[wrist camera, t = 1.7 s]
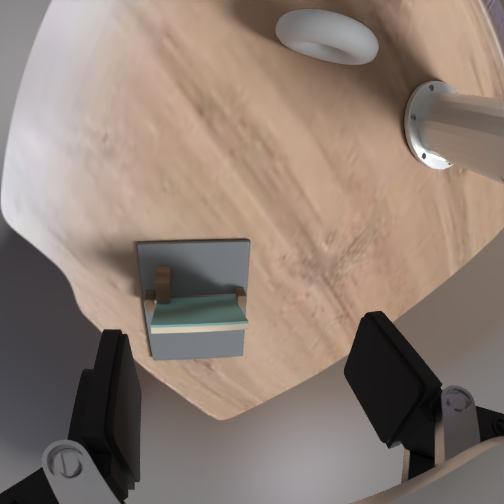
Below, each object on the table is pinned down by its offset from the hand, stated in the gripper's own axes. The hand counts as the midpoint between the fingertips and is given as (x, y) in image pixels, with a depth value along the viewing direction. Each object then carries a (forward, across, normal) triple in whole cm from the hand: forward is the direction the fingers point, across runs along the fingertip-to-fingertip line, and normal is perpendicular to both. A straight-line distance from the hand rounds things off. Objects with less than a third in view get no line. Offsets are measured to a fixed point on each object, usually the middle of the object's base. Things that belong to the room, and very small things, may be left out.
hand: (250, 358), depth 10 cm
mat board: (+26, +1, +16) cm, 31 cm away
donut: (+26, -10, -16) cm, 32 cm away
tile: (+20, +1, +12) cm, 23 cm away
